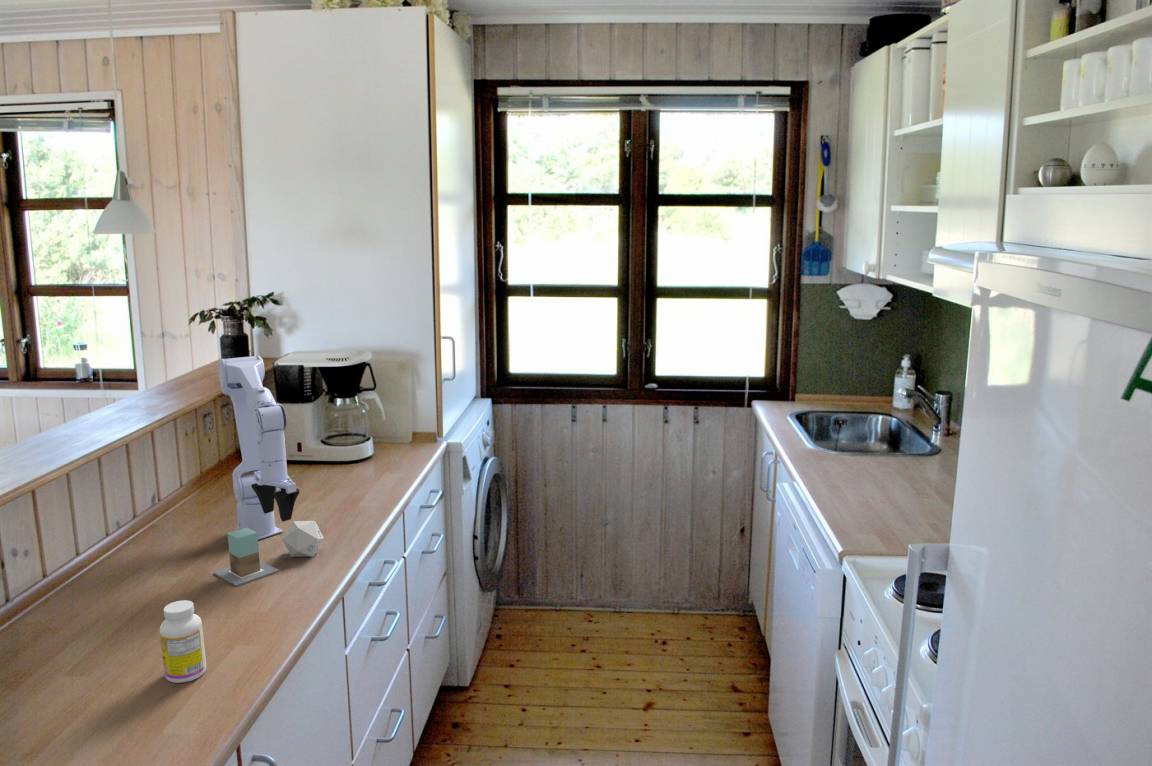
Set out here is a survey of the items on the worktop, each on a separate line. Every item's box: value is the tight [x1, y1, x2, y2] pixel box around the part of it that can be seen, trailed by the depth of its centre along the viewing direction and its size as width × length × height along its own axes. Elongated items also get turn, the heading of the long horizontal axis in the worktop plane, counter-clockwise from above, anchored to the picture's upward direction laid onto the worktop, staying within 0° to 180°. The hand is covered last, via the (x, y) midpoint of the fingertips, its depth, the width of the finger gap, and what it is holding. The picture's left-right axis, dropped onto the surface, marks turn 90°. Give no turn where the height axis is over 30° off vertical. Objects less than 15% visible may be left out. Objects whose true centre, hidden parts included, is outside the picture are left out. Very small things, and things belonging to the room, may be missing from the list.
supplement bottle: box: [159, 599, 207, 684], centre depth 147 cm, size 7×7×13 cm
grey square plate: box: [213, 559, 280, 587], centre depth 189 cm, size 10×10×1 cm
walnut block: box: [228, 551, 260, 577], centre depth 188 cm, size 4×4×4 cm
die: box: [282, 520, 325, 558], centre depth 198 cm, size 8×9×10 cm
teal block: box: [227, 528, 260, 558], centre depth 187 cm, size 4×4×4 cm
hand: (277, 516), depth 194 cm, fingers open, 7 cm apart
